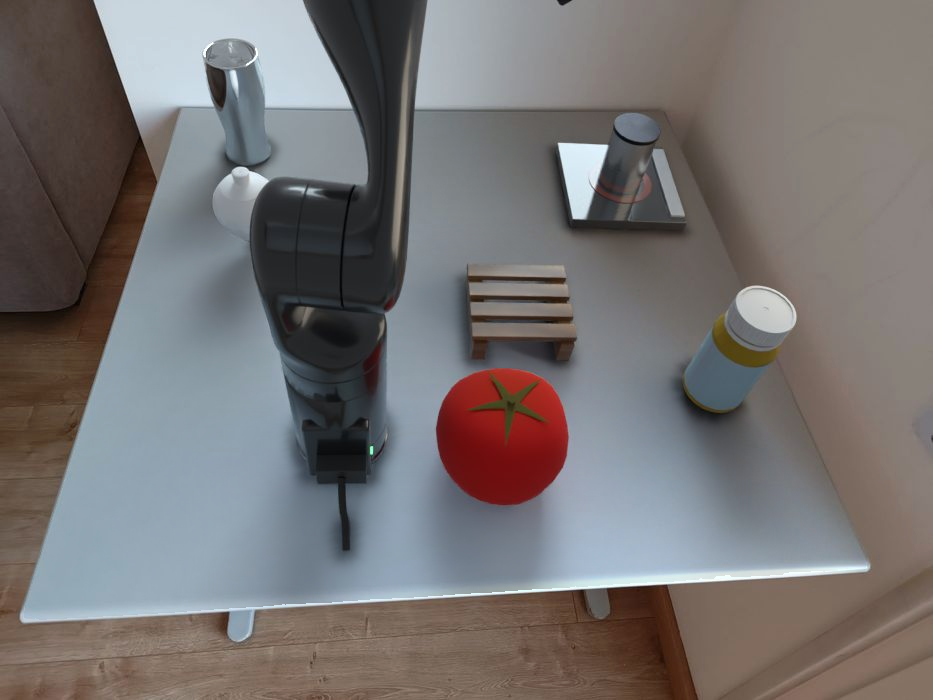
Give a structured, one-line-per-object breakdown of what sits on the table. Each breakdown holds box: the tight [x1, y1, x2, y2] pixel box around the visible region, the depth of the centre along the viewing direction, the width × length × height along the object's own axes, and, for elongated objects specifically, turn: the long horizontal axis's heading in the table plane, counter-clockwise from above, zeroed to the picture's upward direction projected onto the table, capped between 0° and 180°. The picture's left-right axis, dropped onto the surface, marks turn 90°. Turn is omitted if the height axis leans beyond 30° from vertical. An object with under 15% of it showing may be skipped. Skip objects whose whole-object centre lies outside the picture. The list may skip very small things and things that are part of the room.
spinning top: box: [211, 166, 270, 243], centre depth 85 cm, size 8×8×12 cm
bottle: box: [682, 285, 798, 414], centre depth 77 cm, size 7×7×15 cm
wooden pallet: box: [465, 263, 578, 361], centre depth 85 cm, size 12×12×4 cm
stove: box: [555, 142, 688, 231], centre depth 101 cm, size 16×16×2 cm
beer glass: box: [201, 38, 272, 167], centre depth 93 cm, size 7×7×15 cm
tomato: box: [435, 367, 570, 507], centre depth 70 cm, size 13×14×12 cm
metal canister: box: [598, 112, 661, 195], centre depth 97 cm, size 6×6×9 cm
